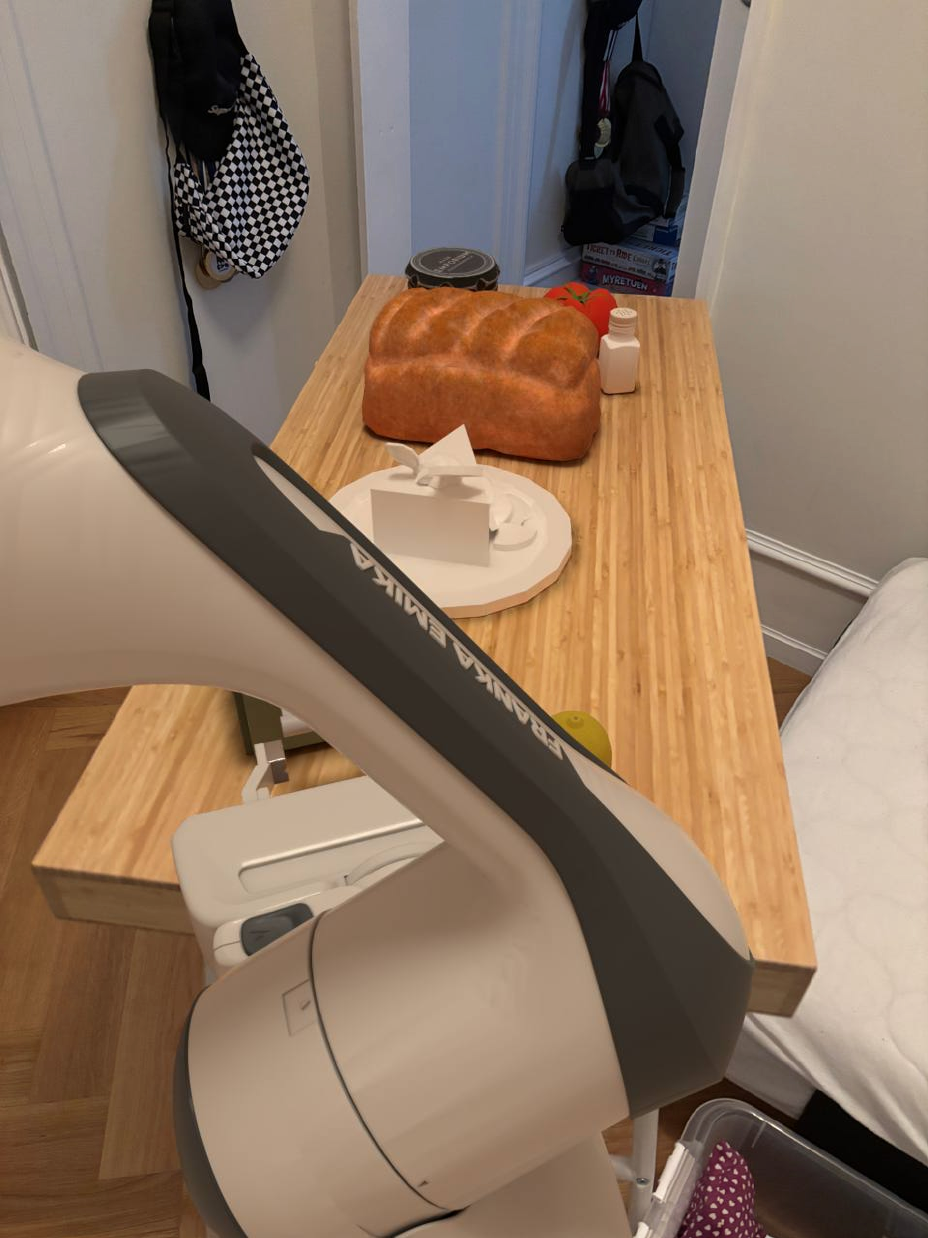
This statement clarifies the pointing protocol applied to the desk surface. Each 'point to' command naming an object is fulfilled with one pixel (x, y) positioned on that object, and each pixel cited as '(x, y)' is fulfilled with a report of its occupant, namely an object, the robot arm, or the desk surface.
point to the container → (453, 269)
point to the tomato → (587, 304)
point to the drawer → (276, 725)
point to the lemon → (586, 733)
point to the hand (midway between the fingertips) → (354, 730)
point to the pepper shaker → (619, 352)
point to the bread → (484, 372)
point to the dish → (461, 526)
